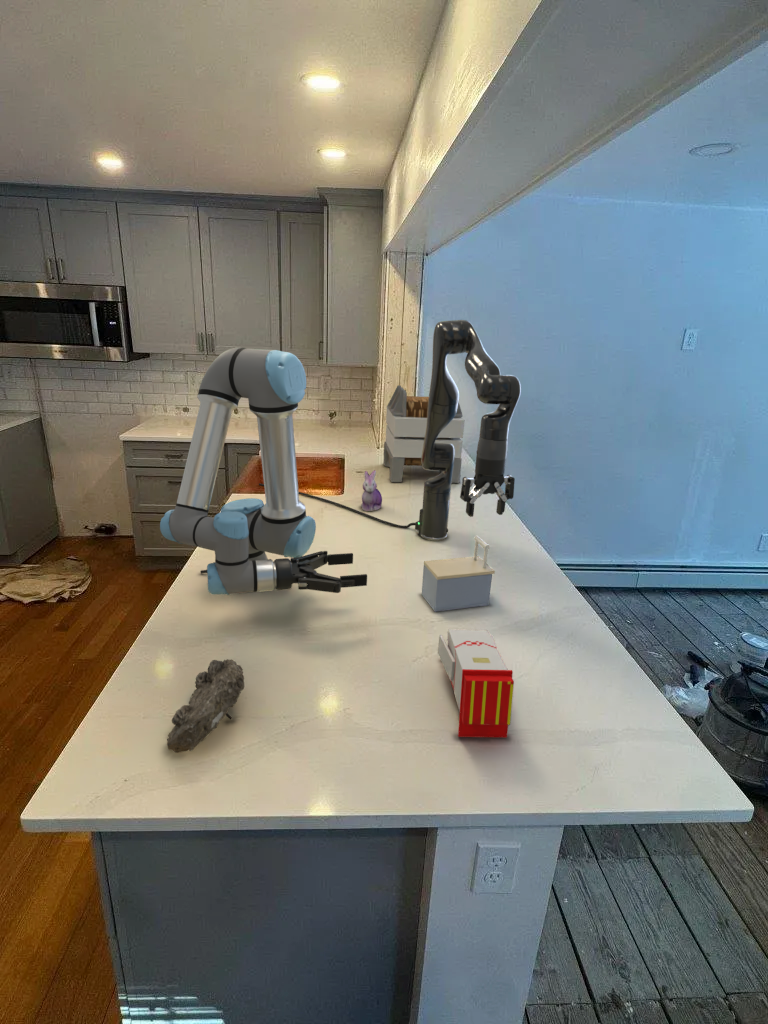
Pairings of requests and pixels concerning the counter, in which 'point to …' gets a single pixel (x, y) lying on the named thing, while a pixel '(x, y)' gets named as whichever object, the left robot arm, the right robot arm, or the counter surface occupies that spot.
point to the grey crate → (415, 434)
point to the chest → (456, 591)
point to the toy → (478, 682)
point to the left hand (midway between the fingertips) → (359, 568)
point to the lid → (461, 564)
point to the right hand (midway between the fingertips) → (484, 514)
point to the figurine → (371, 493)
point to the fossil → (206, 705)
